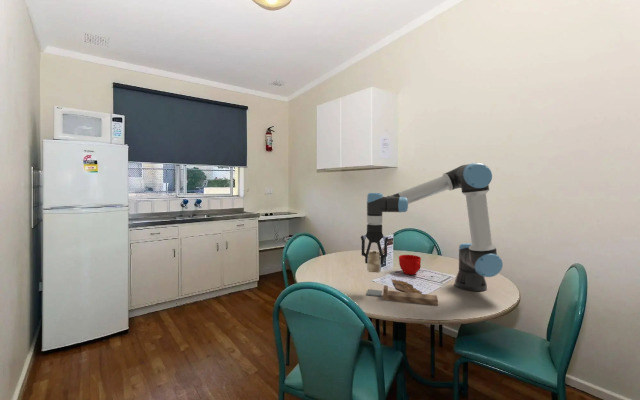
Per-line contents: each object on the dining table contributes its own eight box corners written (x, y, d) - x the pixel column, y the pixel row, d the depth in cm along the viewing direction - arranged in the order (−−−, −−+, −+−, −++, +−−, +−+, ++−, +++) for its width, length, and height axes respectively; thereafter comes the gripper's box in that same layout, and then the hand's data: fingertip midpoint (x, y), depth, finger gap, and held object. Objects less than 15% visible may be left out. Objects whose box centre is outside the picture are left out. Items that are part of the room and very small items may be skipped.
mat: (382, 291, 147) (382, 290, 147) (380, 296, 140) (380, 295, 140) (368, 290, 149) (368, 289, 149) (366, 295, 142) (366, 294, 142)
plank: (436, 300, 135) (436, 290, 135) (437, 305, 130) (437, 294, 129) (384, 294, 143) (384, 285, 142) (383, 299, 137) (383, 289, 137)
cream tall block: (379, 269, 146) (379, 251, 145) (378, 272, 141) (378, 253, 140) (369, 269, 147) (369, 250, 147) (368, 271, 142) (368, 252, 142)
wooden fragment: (426, 296, 142) (426, 293, 142) (404, 297, 140) (404, 295, 140) (403, 279, 167) (403, 277, 167) (384, 280, 165) (384, 278, 165)
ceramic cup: (409, 279, 166) (410, 262, 166) (394, 271, 183) (394, 255, 182) (429, 277, 170) (429, 260, 169) (412, 269, 186) (412, 254, 186)
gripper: (393, 223, 144) (393, 269, 145) (357, 222, 149) (357, 266, 150) (392, 225, 137) (392, 274, 138) (355, 224, 142) (354, 270, 143)
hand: (374, 270), depth 144 cm, fingers closed on cream tall block, 5 cm apart
